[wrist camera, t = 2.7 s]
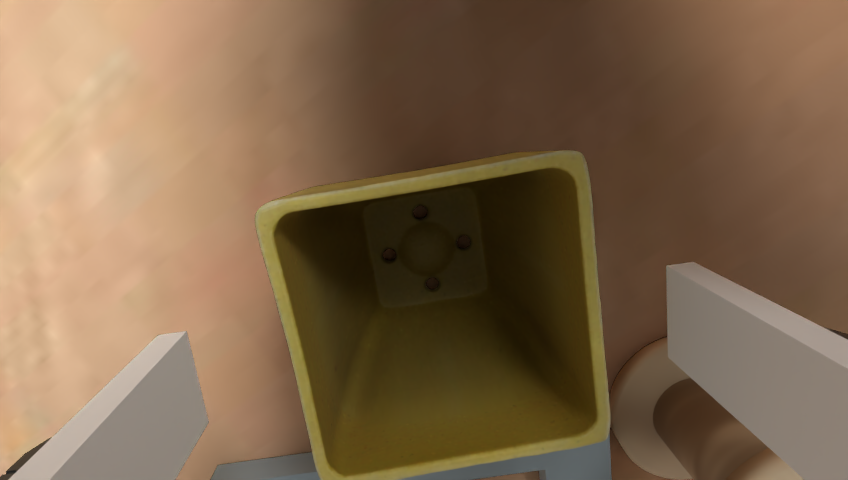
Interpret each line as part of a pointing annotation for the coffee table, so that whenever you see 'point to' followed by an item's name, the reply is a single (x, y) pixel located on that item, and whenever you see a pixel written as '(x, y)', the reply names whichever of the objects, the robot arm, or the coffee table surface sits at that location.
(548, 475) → the blue-grey u-shaped bracket
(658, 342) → the bobbin
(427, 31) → the coffee table surface
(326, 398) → the flower pot
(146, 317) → the coffee table surface
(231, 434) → the coffee table surface
